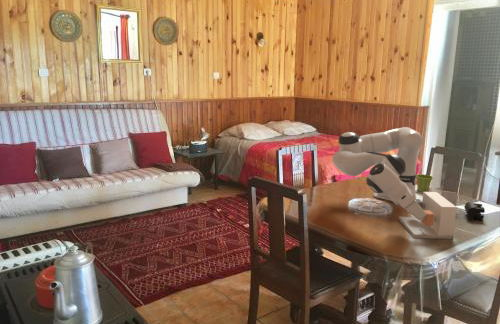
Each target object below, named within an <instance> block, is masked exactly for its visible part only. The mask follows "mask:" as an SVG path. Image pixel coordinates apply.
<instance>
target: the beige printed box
mask: <svg viewBox="0 0 500 324" xmlns="http://www.w3.org/2000/svg"><path fill="white" fill-rule="evenodd" d="M440 195H441V196H442V197H444V198H445V199H446V200H448V201H449V202H450V203H452V204H453V205H454V206H456V207H457V198H458V192H453V191H447V190H441V194H440Z"/></svg>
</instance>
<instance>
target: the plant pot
mask: <svg viewBox="0 0 500 324" xmlns="http://www.w3.org/2000/svg"><path fill="white" fill-rule="evenodd" d="M433 179H434V176H432V175H428V174H421V173H420V174H416V183H417V184H416V187H417V189H416V190H417V191H420V192H422V193H423V192H430V187H431V182H432V180H433Z"/></svg>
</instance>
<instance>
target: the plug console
mask: <svg viewBox="0 0 500 324" xmlns="http://www.w3.org/2000/svg"><path fill="white" fill-rule="evenodd" d="M441 195H442V194H440V193H438V192H436V191H426V192H423V191H422V200H421V201H422V202H423V204H424V205H425V208H424V209H423V210H430V211H431V212H432V213H433V214H434V215H436V221H434V222H433V226H430V225H425V224H424V223H423V222H422V220H418V219H417V218H416V217H414V216H399V217H398V221H399V222H400V223H401V224H402V225H403V227H404V228H405V229H406V230H407V231H408V232H409V234H410V235H411V236H412V237H413V239H436V240H437V239H440V240H453V239H454V233H455V226H456V225H455V224H456V217H457V210H458V207H457V205H456V206H454V205H453V204H452V203H450V202H449V201H448V200H446V199H445V198H444V197H442V196H441Z"/></svg>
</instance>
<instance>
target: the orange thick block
mask: <svg viewBox="0 0 500 324" xmlns="http://www.w3.org/2000/svg"><path fill="white" fill-rule="evenodd" d="M424 212H425V214H426V216H425V219H423V220H422V222H423V223H424V224H425V225H430V226H433V222H434V221H436V215H434V214H433V213H432V212H431V211H430V210H424Z"/></svg>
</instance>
